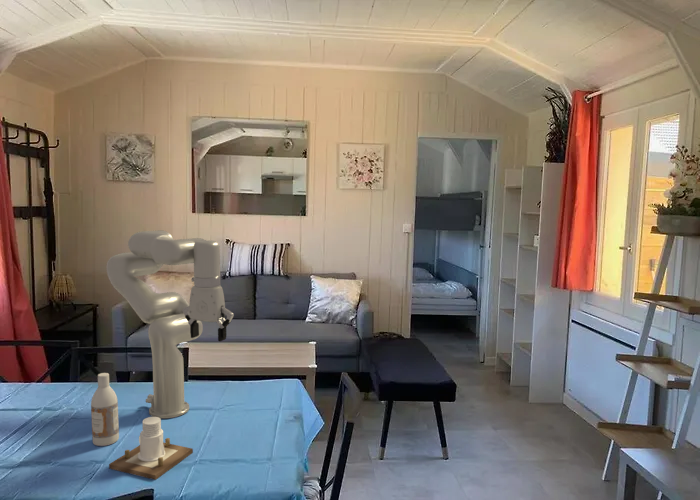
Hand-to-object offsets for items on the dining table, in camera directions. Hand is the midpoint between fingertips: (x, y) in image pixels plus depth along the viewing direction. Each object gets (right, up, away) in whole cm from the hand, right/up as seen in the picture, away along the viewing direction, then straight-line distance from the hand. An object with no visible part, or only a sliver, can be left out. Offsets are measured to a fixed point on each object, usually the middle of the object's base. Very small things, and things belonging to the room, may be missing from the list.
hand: (208, 338), depth 160 cm
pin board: (-11, -30, -16) cm, 36 cm away
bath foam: (-28, -29, -6) cm, 41 cm away
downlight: (-11, -29, -16) cm, 35 cm away
